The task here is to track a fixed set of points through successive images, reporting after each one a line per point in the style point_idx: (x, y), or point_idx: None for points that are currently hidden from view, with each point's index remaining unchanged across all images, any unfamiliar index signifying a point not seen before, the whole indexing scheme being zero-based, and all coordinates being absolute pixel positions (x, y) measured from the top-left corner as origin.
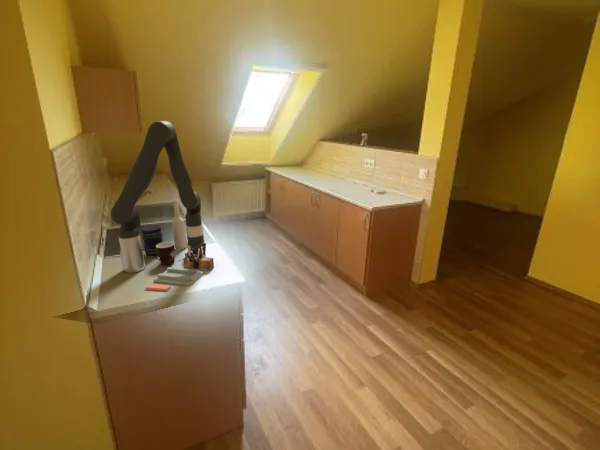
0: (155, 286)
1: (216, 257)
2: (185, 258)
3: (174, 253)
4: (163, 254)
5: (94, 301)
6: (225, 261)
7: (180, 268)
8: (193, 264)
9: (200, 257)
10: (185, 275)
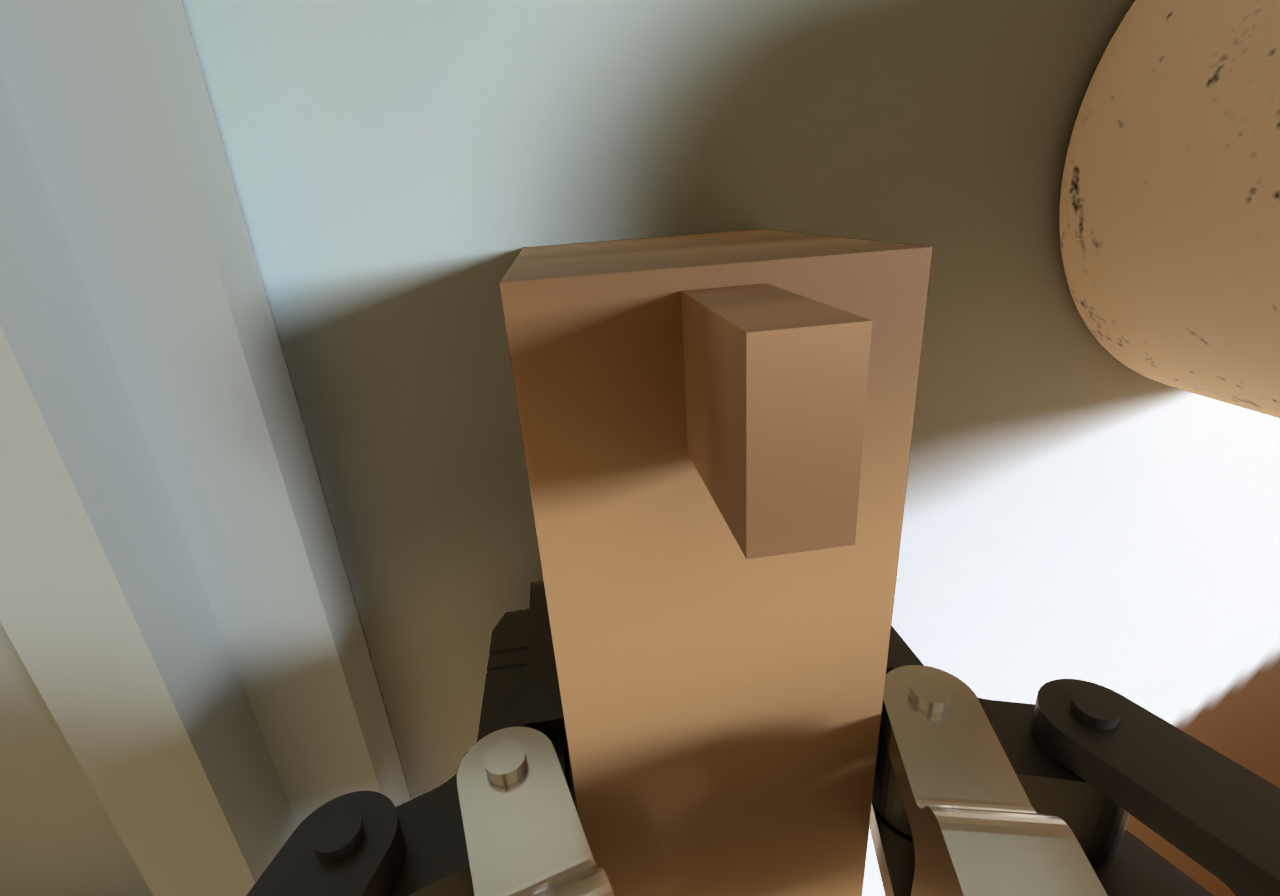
0: None
1: (1208, 597)
2: (562, 399)
3: None
4: None
5: None
6: None
7: (54, 483)
8: (484, 697)
9: (810, 828)
10: (15, 716)
